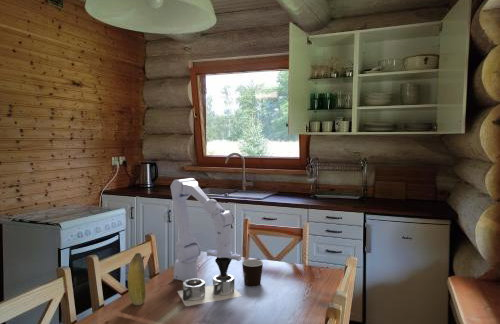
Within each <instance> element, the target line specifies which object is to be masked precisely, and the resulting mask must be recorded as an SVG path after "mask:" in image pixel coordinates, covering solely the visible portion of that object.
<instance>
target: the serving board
mask: <svg viewBox="0 0 500 324" xmlns="http://www.w3.org/2000/svg"><path fill="white" fill-rule="evenodd" d="M176 292H177V293H178V295H179V297H180V299H181V301H182V302H183V304H184V306H185V307H190V306H197V305H202V304H206V303H211V302H212V303H213V302H218V301H223V300H228V299H229V300H230V299H234V298H235V299H236V298H240V297H242V295H241V293H240V292H239V291H238V290H237V289H236V288H235V287H234V293H232V294H230V295H226V296H220V295H214V293H213V284H212V285H207V286H206V285H205V297H204V298H203V299H201V300H198V301H187V300H186V301H184V300H183V289H181V290H177V291H176Z"/></svg>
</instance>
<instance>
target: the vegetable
mask: <svg viewBox="0 0 500 324" xmlns="http://www.w3.org/2000/svg"><path fill="white" fill-rule="evenodd" d="M145 276H146V275H145V263H144V260H143V257H142V253H140V252H136V253H135V254H134V255H133V257H132V259H131V261H130V262H129V265H128V271H127V290H128V295H129V299H130V301H131V303H132V304H133V305H134V306H141V305H143V304H144V303H145V301H146V280H145V279H146V278H145Z"/></svg>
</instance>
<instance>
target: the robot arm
mask: <svg viewBox="0 0 500 324" xmlns="http://www.w3.org/2000/svg"><path fill="white" fill-rule="evenodd" d="M169 188H170V191H171V198H172V202H173V203H172V204H173V209H174V214H175V219H176V225H177V231H178V236H179V240H178V241H177V242H176V244H175V257H176V260H175V261H174V264H173V279H174V280H178V281H181V282H184V281H186V280H188V279H194V278H197V279H198V269H197V268H198V263H197V262H198V260H199V257H200V255H201V253H202V252H201V251H202V249H201V246H200V244H199V242H198V239H197V238H196V237H193V232H192V227H191V222H190V217H189V211H188V205H187V200H188V198H189V197H190V196H193V198H195V200H197V201H198V202H199V203H201V204H202V207H203V208H202V209H203V210H204V211H205V213H207V214H208V215H209V216H210V218H211V219H212V223H213V225H214V229H215V233H216V237H215V238H216V241H215V242H216V246H215V247H216V248H215V249H216V250H215V249H214V250H213V249H208V250H206V256H207V257H210V256H211V257H216V258H215V259H214V260H215V263H216V264H217V267H218V270H219V273H220V274H221V276H223V277H224V276H226V274H227V273H228V269H229V267H230V264H231V262H232V261H234V260H235V261H237V262H240V261H241V260H242V254H238V253H236V252H233V251H232V225H233V224H234V221H235V216H234V213H233V212H232V211H231V210H229V209H227V210H226V208H224V207H222V206H221V204H219V203H218V201H217V200H216V199H214V198H211V199H210V197H208V196H207V194H206V193H205V192H204V191H203V190H202V188H201V187H200V185H199V182H198V181H197V180H196V179H195V178H193V177H189V178H181V179H174V180H173V181H172V183H171V184H170V187H169Z"/></svg>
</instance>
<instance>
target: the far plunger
mask: <svg viewBox="0 0 500 324" xmlns="http://www.w3.org/2000/svg"><path fill="white" fill-rule="evenodd" d="M218 275H219V274H218ZM219 279H221V280H223V281H225V280H226V279H228V275H227V274H226V276H224V277H223V276H221V273H220V275H219Z"/></svg>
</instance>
